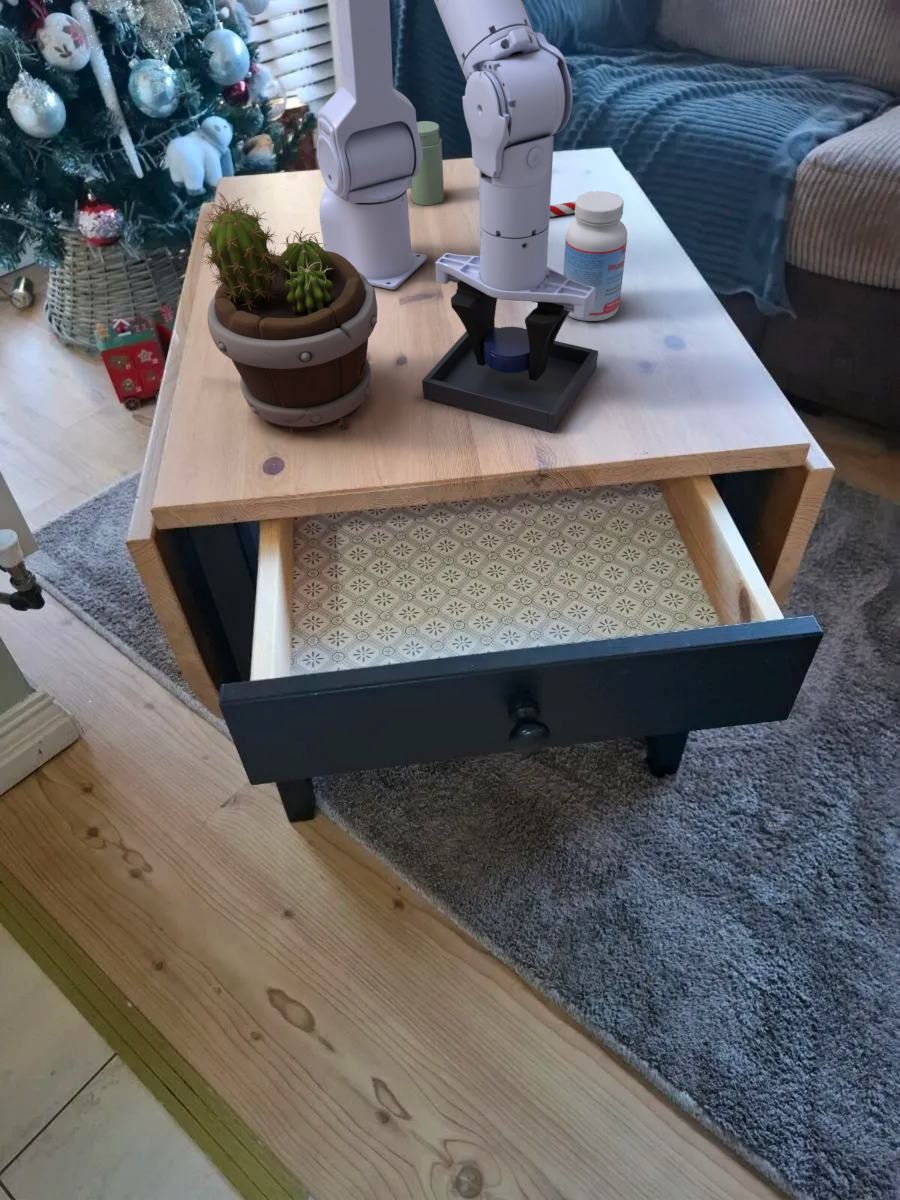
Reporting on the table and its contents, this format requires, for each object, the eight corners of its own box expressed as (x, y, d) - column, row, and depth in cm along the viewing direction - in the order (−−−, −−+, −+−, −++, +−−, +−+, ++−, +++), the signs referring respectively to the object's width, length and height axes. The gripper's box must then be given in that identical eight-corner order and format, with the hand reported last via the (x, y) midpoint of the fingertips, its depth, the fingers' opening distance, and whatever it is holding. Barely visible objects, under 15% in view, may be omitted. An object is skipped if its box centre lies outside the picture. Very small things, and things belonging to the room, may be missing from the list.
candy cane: (613, 206, 102) (490, 210, 103) (612, 217, 103) (490, 221, 104) (606, 180, 107) (489, 184, 108) (605, 190, 108) (489, 194, 109)
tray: (423, 398, 79) (421, 380, 78) (474, 339, 86) (474, 322, 84) (553, 433, 75) (554, 414, 73) (596, 368, 81) (598, 350, 80)
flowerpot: (379, 350, 85) (356, 138, 70) (394, 442, 75) (370, 216, 60) (235, 366, 84) (180, 154, 69) (230, 461, 74) (164, 237, 59)
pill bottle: (616, 325, 86) (630, 216, 78) (557, 321, 87) (564, 212, 79) (620, 296, 90) (633, 189, 82) (564, 292, 91) (571, 186, 83)
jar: (405, 202, 108) (400, 130, 102) (420, 189, 111) (415, 118, 104) (435, 207, 107) (431, 134, 101) (449, 194, 110) (446, 122, 103)
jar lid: (500, 379, 76) (500, 361, 75) (474, 352, 79) (474, 335, 78) (547, 363, 77) (549, 346, 76) (520, 338, 80) (521, 321, 79)
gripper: (615, 220, 69) (599, 365, 79) (461, 189, 74) (464, 329, 84) (580, 257, 65) (568, 405, 75) (419, 221, 70) (428, 364, 80)
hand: (511, 367), depth 79 cm, fingers closed on jar lid, 5 cm apart
